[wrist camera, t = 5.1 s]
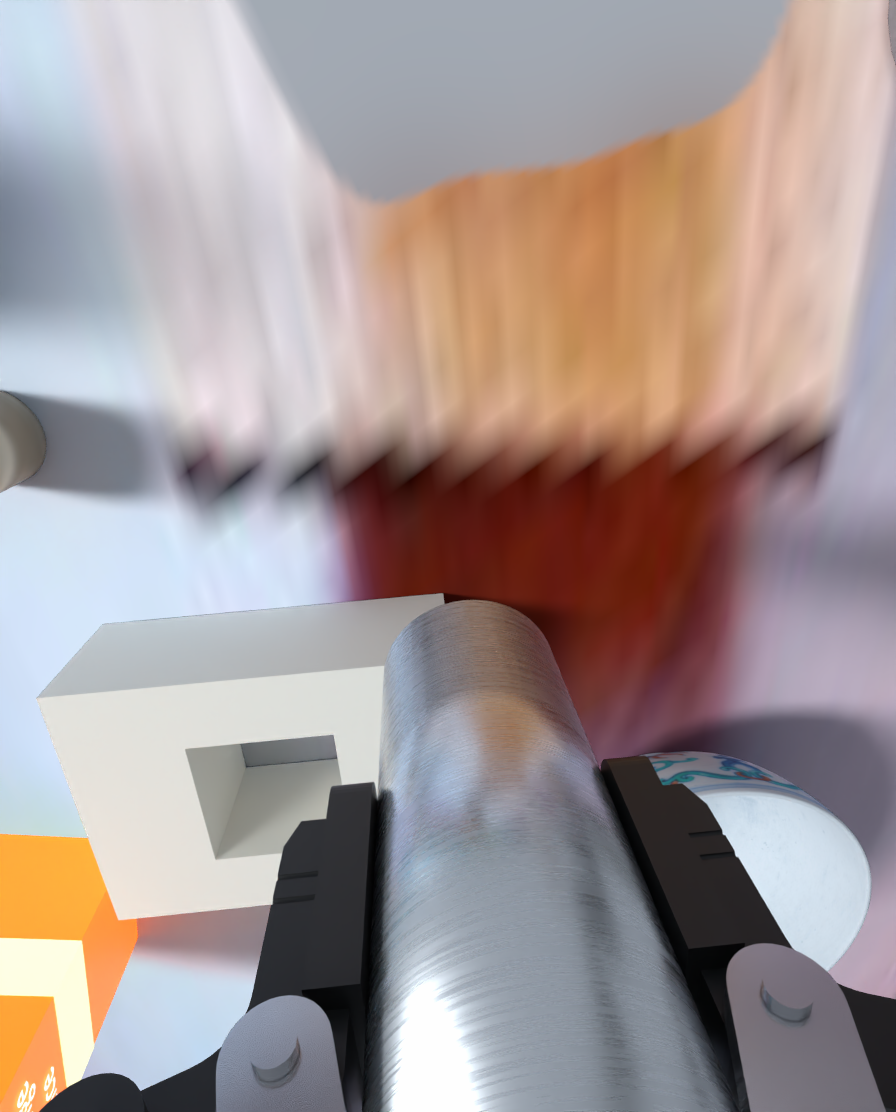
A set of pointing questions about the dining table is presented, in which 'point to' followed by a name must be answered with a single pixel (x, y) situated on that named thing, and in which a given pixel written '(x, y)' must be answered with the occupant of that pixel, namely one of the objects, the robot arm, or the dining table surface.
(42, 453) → the short pin
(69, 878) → the orange juice
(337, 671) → the hole block
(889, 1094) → the robot arm
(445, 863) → the long pin
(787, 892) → the chinaware
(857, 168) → the dining table surface
